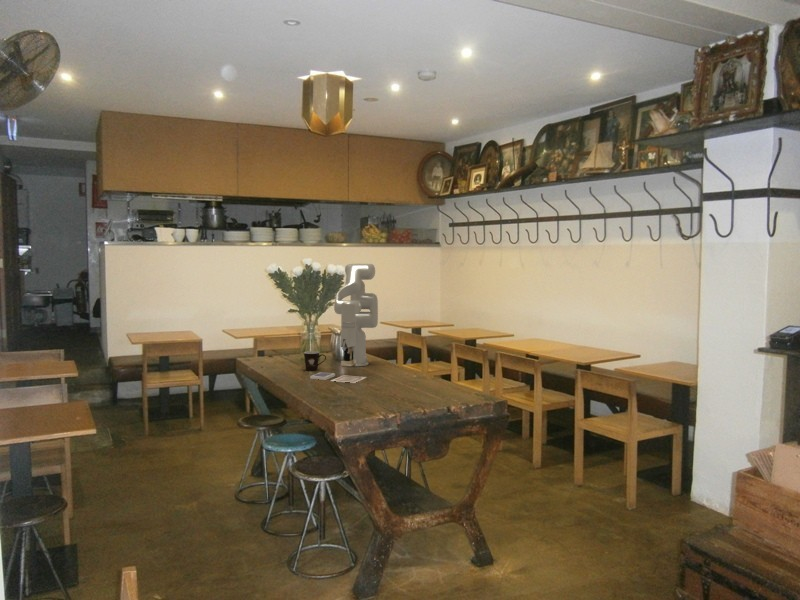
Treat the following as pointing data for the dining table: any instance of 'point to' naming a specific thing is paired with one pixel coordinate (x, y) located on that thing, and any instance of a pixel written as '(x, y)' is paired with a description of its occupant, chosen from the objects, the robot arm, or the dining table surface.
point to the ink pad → (322, 376)
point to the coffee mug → (312, 360)
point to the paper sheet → (348, 379)
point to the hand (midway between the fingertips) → (348, 359)
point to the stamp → (349, 363)
